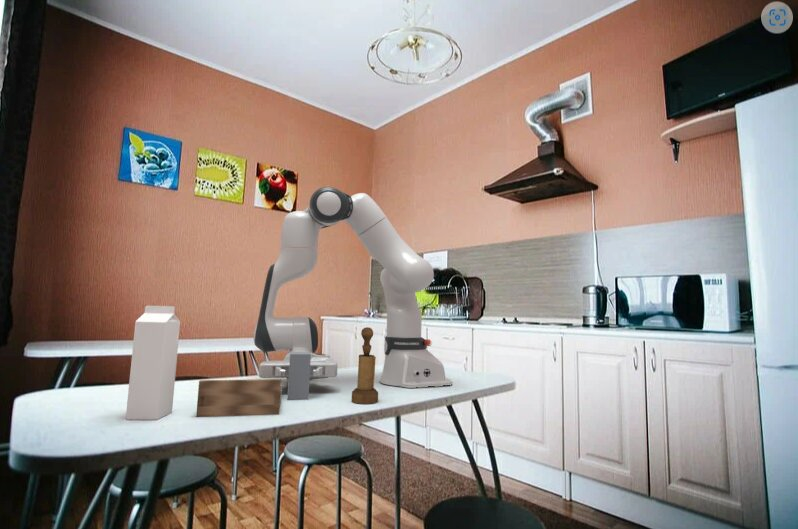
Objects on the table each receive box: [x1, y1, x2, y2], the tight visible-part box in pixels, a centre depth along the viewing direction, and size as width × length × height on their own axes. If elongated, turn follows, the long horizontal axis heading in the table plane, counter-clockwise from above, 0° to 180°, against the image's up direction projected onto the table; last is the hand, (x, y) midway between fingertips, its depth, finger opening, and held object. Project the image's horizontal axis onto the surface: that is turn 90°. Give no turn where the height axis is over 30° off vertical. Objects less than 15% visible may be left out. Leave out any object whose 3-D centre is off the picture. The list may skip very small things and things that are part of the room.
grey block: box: [287, 352, 311, 401], centre depth 103 cm, size 5×5×11 cm
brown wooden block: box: [195, 378, 283, 418], centre depth 92 cm, size 16×16×7 cm
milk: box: [125, 305, 181, 421], centre depth 83 cm, size 6×6×22 cm
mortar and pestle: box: [351, 327, 379, 405], centre depth 101 cm, size 7×6×18 cm
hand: (299, 373), depth 102 cm, fingers open, 7 cm apart
